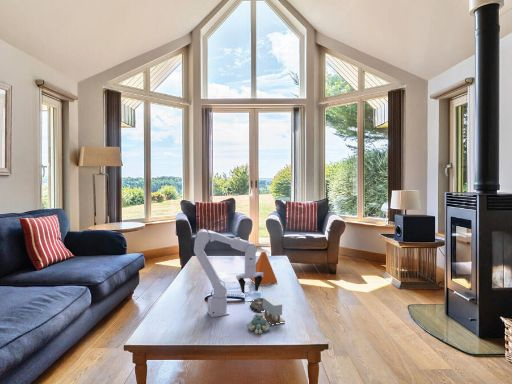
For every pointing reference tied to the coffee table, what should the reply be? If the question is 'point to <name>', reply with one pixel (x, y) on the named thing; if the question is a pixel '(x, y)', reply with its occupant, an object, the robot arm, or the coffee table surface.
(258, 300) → the geode
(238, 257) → the coffee table surface
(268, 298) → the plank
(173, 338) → the coffee table surface
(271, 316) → the peg stand
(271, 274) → the pyramid
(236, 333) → the coffee table surface
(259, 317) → the stuffed animal
